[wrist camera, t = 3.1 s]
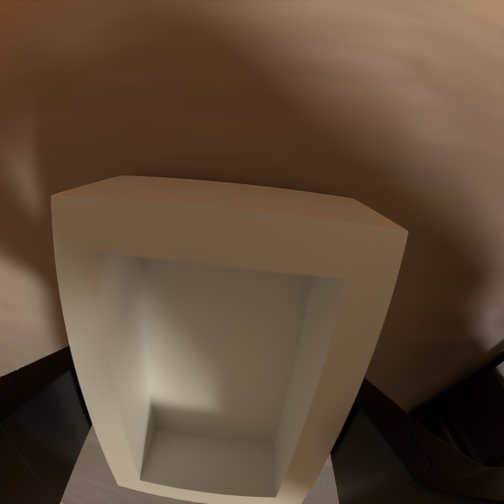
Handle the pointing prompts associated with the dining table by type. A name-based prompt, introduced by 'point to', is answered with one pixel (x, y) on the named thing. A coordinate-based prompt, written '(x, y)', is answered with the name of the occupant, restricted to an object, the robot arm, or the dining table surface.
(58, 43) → the dining table surface
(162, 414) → the beige tray
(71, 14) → the dining table surface
